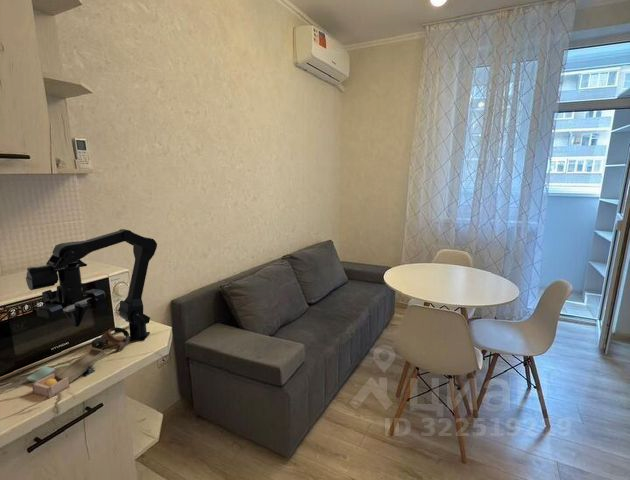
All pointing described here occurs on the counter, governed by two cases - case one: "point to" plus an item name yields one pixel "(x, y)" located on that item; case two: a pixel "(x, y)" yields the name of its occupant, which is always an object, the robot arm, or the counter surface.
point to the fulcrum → (88, 372)
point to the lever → (70, 367)
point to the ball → (50, 382)
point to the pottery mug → (111, 339)
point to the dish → (49, 387)
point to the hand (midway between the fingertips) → (76, 326)
